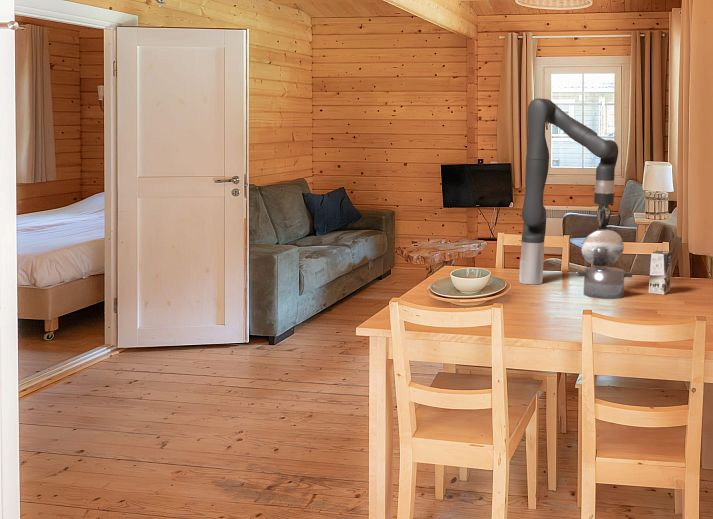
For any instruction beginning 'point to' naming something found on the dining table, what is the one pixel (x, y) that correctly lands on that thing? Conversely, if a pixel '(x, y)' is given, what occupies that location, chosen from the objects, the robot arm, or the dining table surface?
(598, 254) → the lid
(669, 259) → the coffee box
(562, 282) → the dining table surface
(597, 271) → the cooker body
